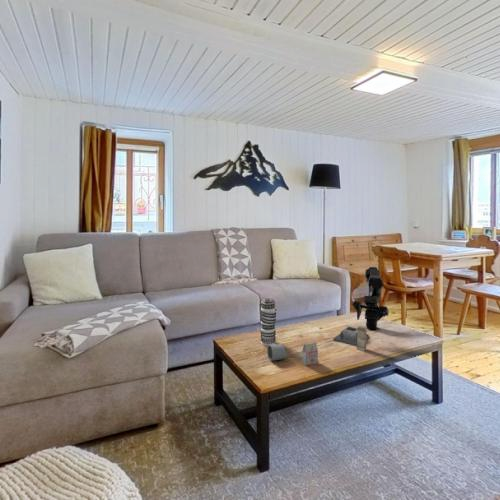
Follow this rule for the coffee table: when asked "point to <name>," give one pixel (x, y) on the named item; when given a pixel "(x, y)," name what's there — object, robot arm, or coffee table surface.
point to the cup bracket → (348, 336)
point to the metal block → (361, 337)
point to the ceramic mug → (276, 352)
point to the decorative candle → (268, 321)
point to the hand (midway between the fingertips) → (365, 321)
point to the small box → (310, 354)
